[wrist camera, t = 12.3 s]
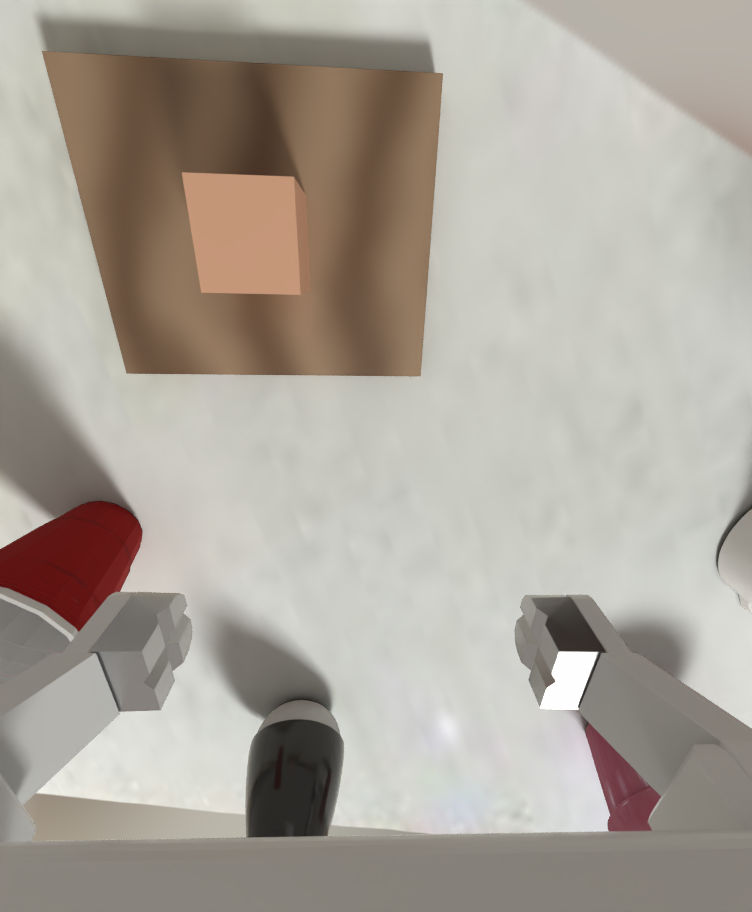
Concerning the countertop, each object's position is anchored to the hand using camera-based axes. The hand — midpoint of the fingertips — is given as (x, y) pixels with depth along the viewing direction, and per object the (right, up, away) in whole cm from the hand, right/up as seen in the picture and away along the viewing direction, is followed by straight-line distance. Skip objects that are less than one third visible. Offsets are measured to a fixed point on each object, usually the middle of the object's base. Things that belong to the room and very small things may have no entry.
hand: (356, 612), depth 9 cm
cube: (-6, +17, +14) cm, 22 cm away
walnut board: (-6, +17, +15) cm, 24 cm away
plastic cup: (-23, -2, +24) cm, 33 cm away
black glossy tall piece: (-8, -27, +37) cm, 46 cm away
